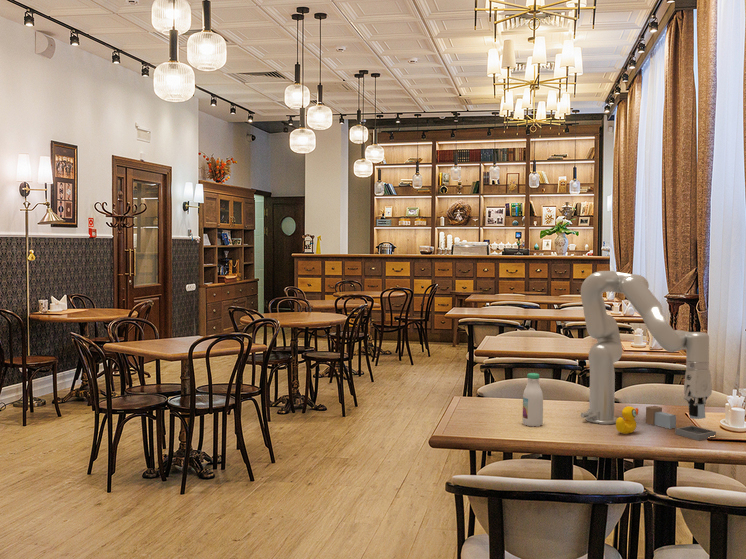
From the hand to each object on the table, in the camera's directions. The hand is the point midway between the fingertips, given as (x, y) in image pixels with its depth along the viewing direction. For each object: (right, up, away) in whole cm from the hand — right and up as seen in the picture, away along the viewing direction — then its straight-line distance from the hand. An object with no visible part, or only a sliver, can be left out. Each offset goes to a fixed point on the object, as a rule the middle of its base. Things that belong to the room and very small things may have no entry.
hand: (696, 414), depth 252 cm
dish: (0, -8, +1) cm, 8 cm away
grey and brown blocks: (-7, -7, +15) cm, 18 cm away
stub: (0, -1, 0) cm, 1 cm away
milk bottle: (-57, -7, +15) cm, 60 cm away
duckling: (-25, -8, +3) cm, 26 cm away
